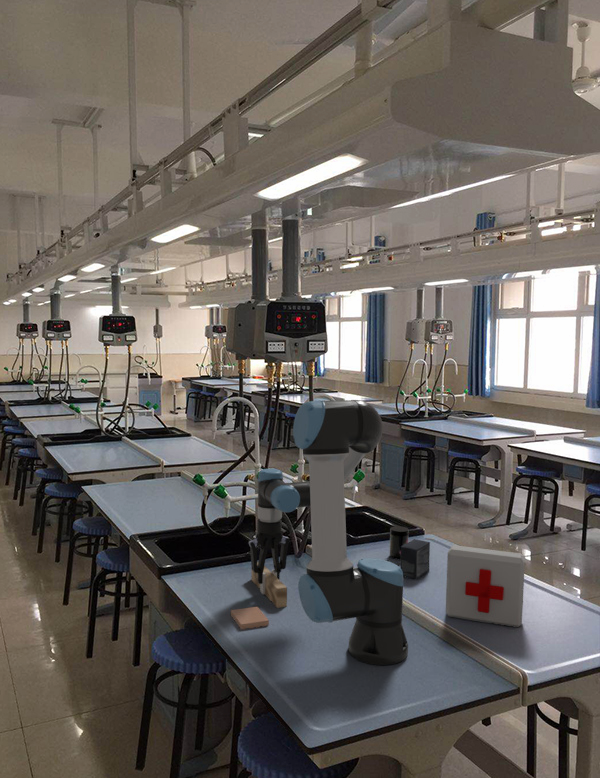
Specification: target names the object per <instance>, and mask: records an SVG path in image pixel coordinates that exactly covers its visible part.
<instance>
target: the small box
mask: <svg viewBox="0 0 600 778" xmlns="http://www.w3.org/2000/svg"><path fill="white" fill-rule="evenodd" d="M430 544H431V542H430V541H428V540H427V541H426V540H421V539H415V538H413V539H412V540H410V541H408V543H406V544H405V545H403V546H401V559H400V568H401V570H402V572H403V576H404V577H403V578H407V577H408V579H411V578H412V580H415V579H416V580H418V579H419V577H420V578H421V577H423V576H424V575H426V574H427V573H429V572H430V549H431V545H430Z"/></svg>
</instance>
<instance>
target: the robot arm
mask: <svg viewBox="0 0 600 778" xmlns="http://www.w3.org/2000/svg"><path fill="white" fill-rule="evenodd" d="M383 431H384V426H383V421H382V418H381V415H380V413H379V412H378V411H377V409H376V408H375V407H374V406H373V405H371V404H370V403H368V402H366V401H364V400H360V399H359V400H358V399H351V400H345V399H344V400H342V399H339V400H336V399H335V400H331V399H330V400H328V399H327V400H324V399H323V400H320V399H319V400H311V401H306V402H304V403H302V405H300V406H299V408H298V409H297V412H296V414H295V417H294V421H293V429H292V432H293V433H292V435H293V439H294V443H295V446H296V447H297V448H298V449H300V450H302V456H303V458H304V459H306V460H307V461H308V466H309V467H308V468H309V470H308V472H309V481H296V482H294V481H293V482H284V477H283V475H284V474H283V471H282V470H280V469H278V468H264V469H261V470H259V472H258V477H257V478H258V479H257V518H258V519H257V527H256V528H257V529H256V530H257V532H256V533H257V534H256V536H255V538H254V539H249V540H248V542H247V544H248V546H249V547H250V549H249V550H250V562H251V571H252V570H253V571H254V572H255V573H258V579H257V581H258V583H259V584H260V589H259V592H260V593H261V595H265V579H266V574H265V573H264V572H263V571H264V566H265V564H266V558H267V553H268V550H271V555H272V556H271V557H272V561H273V562H272V563H273V569H271V573H273V574H274V575H275V576H276V577H277V578H278V579H279V580H280V575H281V572H282V570H285V569H286V566H287V556H288V549H289V544H290V542H291V539H290V538H289V537H288V536H284V535H283V533H282V525H283V524H282V523H283V522H282V518H283V513H291V512H293V511H295V510H296V509H298V508H300V509H301V508H307V507H308V508H310V524H311V526H310V527H311V529H310V530H311V556H312V557H311V560H310V561H309V562H308V563H307V564H306V573H305V574H303V575H301V576H300V577H299V580H298V584H297V585H298V586H297V587H298V594H299V595H298V596H299V600H300V602H301V605H302V606H301V607H302V608H303V610H304V613H305V615H306V616H307V618H309V619H308V620H310V621H312V623H313V622H314V623H316V624H321V623H332V622H337V621H342V620H349V619H354V618H355V622H354V625H353V628H352V631H351V634H350V636H349V639H348V652H349V654H350V655H351V656H352V657H353V658H355V659H356V660H358V661H360V662H363V663H365V664H370V665H377V666H390V665H395V664H398V663H401V662H402V661H404V660H405V659H406V658H407V657H408V654H409V644H408V640H407V637H406V633H405V629H404V627H403V604H404V603H403V599H404V598H403V597H404V587H405V582H404V577H403V572H402V570H401V566H399V565H397V564H396V563H394V562H392V561H388V560H384V559H379V558H371V557H369V558H368V557H366V558H361V559H359V560H358V561H357V564H356V568H354V563H353V562H352V561H351V560H350V559H349V558H348V550H347V549H348V548H347V527H346V525H347V524H346V516H345V515H346V502H345V501H346V496H345V482H346V480H348V478H349V477H350V476H351V475H352V473H353V472H354V470H355V469H356V467H358V465H359V463H360V462H361V461H362V459H364V457H365V455H366V454H370V453H371V452H373V451H374V450H375V448H376V447H377V446H378V445H379V444H380V441H381V439H382V436H383ZM279 543H281V544H280V554H279V547H278V546H279ZM258 544H259V550H260V551H259V555H258V552H257V551H258V550H257V546H258ZM258 556H259V557H258ZM257 562H258V565H257Z"/></svg>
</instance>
